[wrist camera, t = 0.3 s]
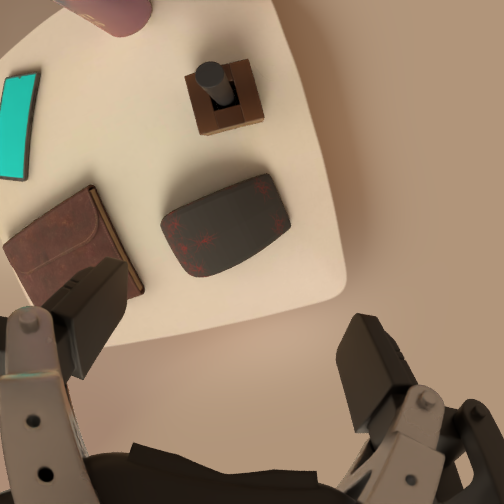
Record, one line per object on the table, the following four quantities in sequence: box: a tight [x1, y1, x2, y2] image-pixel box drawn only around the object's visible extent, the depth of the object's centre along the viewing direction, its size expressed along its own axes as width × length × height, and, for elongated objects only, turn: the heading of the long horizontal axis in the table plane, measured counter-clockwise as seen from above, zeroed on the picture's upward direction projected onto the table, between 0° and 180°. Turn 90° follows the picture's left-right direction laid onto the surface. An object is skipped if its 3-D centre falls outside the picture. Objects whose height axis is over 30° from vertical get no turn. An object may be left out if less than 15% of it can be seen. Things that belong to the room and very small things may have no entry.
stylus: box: [195, 62, 236, 109], centre depth 22 cm, size 2×2×14 cm
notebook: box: [3, 185, 145, 307], centre depth 34 cm, size 15×20×2 cm
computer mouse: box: [161, 173, 291, 277], centre depth 31 cm, size 8×14×4 cm, turn 114°
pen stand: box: [185, 59, 264, 136], centre depth 26 cm, size 6×6×5 cm
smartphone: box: [0, 72, 40, 182], centre depth 28 cm, size 7×1×15 cm
